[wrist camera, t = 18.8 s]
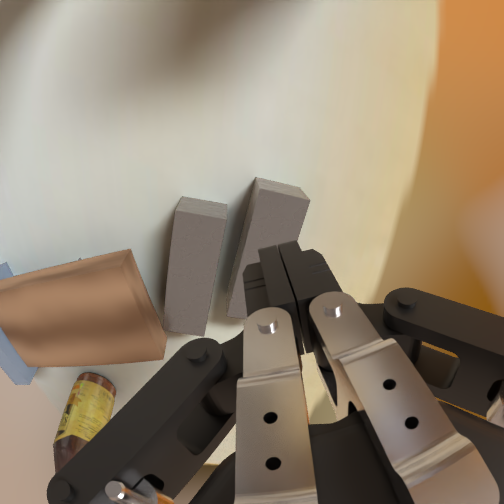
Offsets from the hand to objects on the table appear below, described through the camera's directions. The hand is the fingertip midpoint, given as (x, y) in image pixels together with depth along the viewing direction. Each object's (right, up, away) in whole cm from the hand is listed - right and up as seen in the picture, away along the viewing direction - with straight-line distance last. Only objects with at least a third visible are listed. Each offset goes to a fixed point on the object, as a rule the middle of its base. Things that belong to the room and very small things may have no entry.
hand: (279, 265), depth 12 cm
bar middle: (-7, 0, +17) cm, 19 cm away
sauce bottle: (-23, -18, +25) cm, 39 cm away
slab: (-19, -5, +15) cm, 25 cm away
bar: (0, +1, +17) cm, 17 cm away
